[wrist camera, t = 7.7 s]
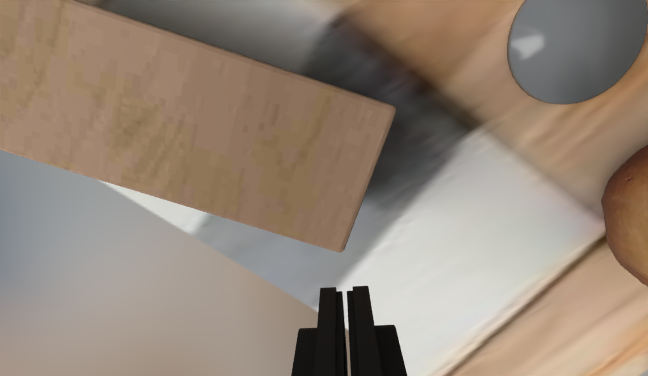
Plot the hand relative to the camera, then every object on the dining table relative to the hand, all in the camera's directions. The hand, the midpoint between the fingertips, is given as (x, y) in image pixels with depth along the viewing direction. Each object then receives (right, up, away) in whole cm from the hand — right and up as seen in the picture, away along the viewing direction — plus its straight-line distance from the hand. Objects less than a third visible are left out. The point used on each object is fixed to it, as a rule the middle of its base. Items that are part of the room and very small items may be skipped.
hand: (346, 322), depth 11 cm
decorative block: (+2, +6, +13) cm, 14 cm away
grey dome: (+19, +17, +14) cm, 29 cm away
